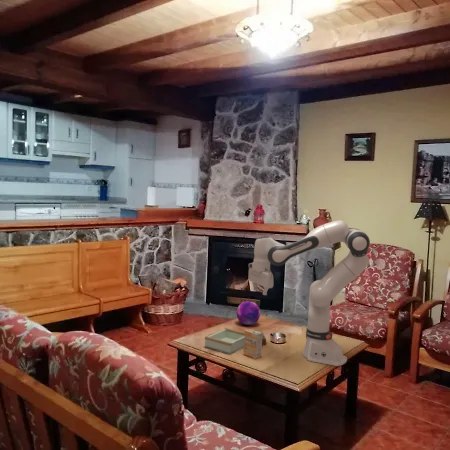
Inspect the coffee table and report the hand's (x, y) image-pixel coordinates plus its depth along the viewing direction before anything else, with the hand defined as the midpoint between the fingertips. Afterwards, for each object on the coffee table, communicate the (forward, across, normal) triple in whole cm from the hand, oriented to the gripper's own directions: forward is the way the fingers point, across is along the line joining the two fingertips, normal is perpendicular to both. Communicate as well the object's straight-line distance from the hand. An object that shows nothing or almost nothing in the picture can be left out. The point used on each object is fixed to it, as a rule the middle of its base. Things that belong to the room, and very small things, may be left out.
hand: (259, 292), depth 234 cm
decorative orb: (+32, +41, -17) cm, 54 cm away
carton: (+32, +13, -8) cm, 35 cm away
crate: (+32, +11, +12) cm, 35 cm away
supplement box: (+32, -7, +6) cm, 33 cm away
